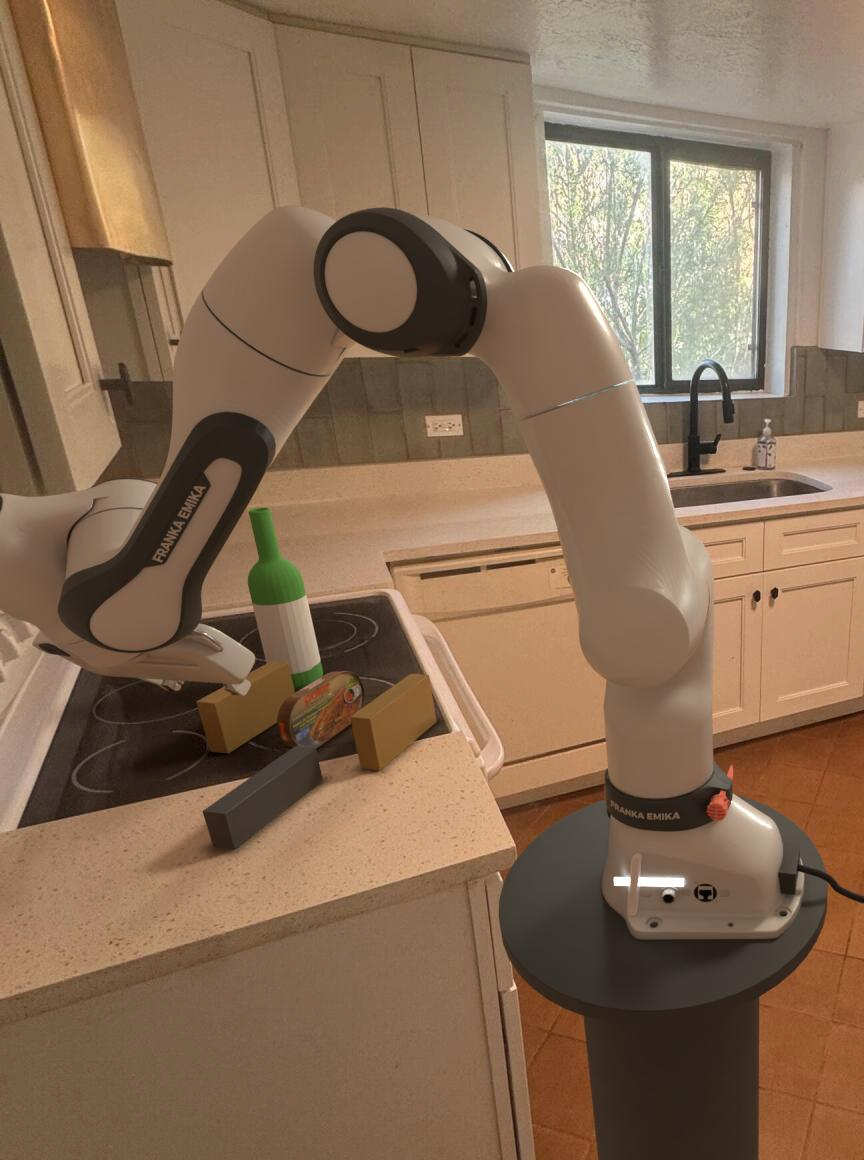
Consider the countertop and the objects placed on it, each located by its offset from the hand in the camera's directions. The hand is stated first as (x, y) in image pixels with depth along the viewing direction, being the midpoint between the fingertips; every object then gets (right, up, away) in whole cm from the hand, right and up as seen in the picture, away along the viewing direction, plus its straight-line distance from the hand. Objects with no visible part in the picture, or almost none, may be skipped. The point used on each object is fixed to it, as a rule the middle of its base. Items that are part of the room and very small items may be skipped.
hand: (210, 687), depth 92 cm
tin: (+1, -9, +24) cm, 26 cm away
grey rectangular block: (+4, -16, +6) cm, 17 cm away
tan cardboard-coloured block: (-11, -8, +25) cm, 29 cm away
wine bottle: (-13, -3, +40) cm, 42 cm away
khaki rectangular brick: (+13, -10, +21) cm, 27 cm away
